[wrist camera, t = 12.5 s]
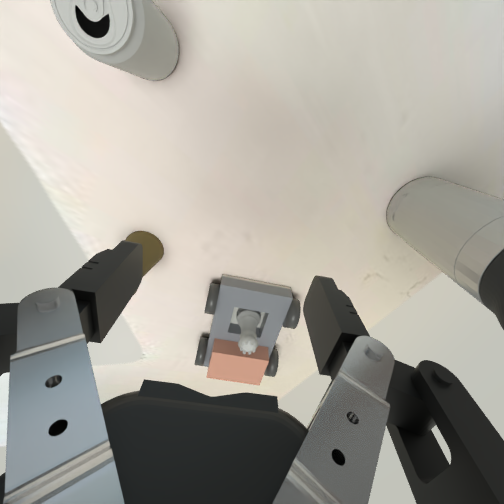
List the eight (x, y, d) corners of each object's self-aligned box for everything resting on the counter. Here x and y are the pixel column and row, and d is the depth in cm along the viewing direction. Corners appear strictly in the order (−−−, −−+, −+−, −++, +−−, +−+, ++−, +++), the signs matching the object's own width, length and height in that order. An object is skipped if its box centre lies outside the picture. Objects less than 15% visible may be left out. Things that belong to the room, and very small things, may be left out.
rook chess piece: (248, 299, 44) (247, 334, 37) (266, 313, 45) (268, 348, 38) (231, 313, 46) (227, 349, 38) (249, 326, 47) (248, 362, 40)
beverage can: (123, 73, 29) (48, 48, 18) (121, 0, 26) (31, -81, 15) (178, 87, 30) (137, 70, 19) (182, 17, 27) (137, -49, 16)
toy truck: (299, 289, 44) (305, 312, 38) (269, 363, 53) (271, 390, 48) (213, 272, 42) (207, 294, 37) (197, 351, 51) (191, 378, 46)
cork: (169, 259, 41) (144, 303, 31) (136, 268, 42) (101, 313, 32) (153, 226, 38) (119, 263, 28) (118, 236, 39) (73, 275, 29)
